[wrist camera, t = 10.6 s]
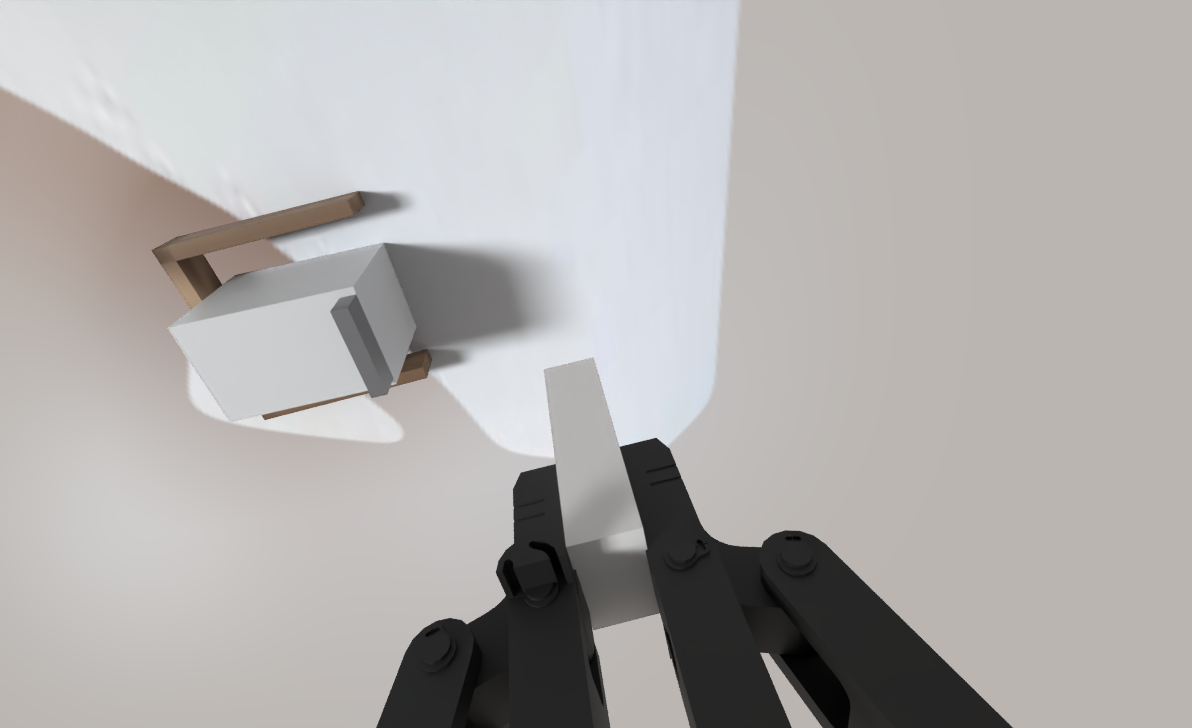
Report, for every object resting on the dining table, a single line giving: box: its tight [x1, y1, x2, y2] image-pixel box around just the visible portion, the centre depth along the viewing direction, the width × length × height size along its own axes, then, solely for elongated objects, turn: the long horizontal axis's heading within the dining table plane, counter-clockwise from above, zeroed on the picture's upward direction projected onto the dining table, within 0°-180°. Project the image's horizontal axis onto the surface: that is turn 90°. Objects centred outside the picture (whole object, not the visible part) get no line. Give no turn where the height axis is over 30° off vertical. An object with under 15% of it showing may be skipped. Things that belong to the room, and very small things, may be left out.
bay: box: [152, 191, 432, 420], centre depth 40 cm, size 14×13×3 cm
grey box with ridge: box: [168, 243, 417, 422], centre depth 36 cm, size 7×11×11 cm, turn 100°
